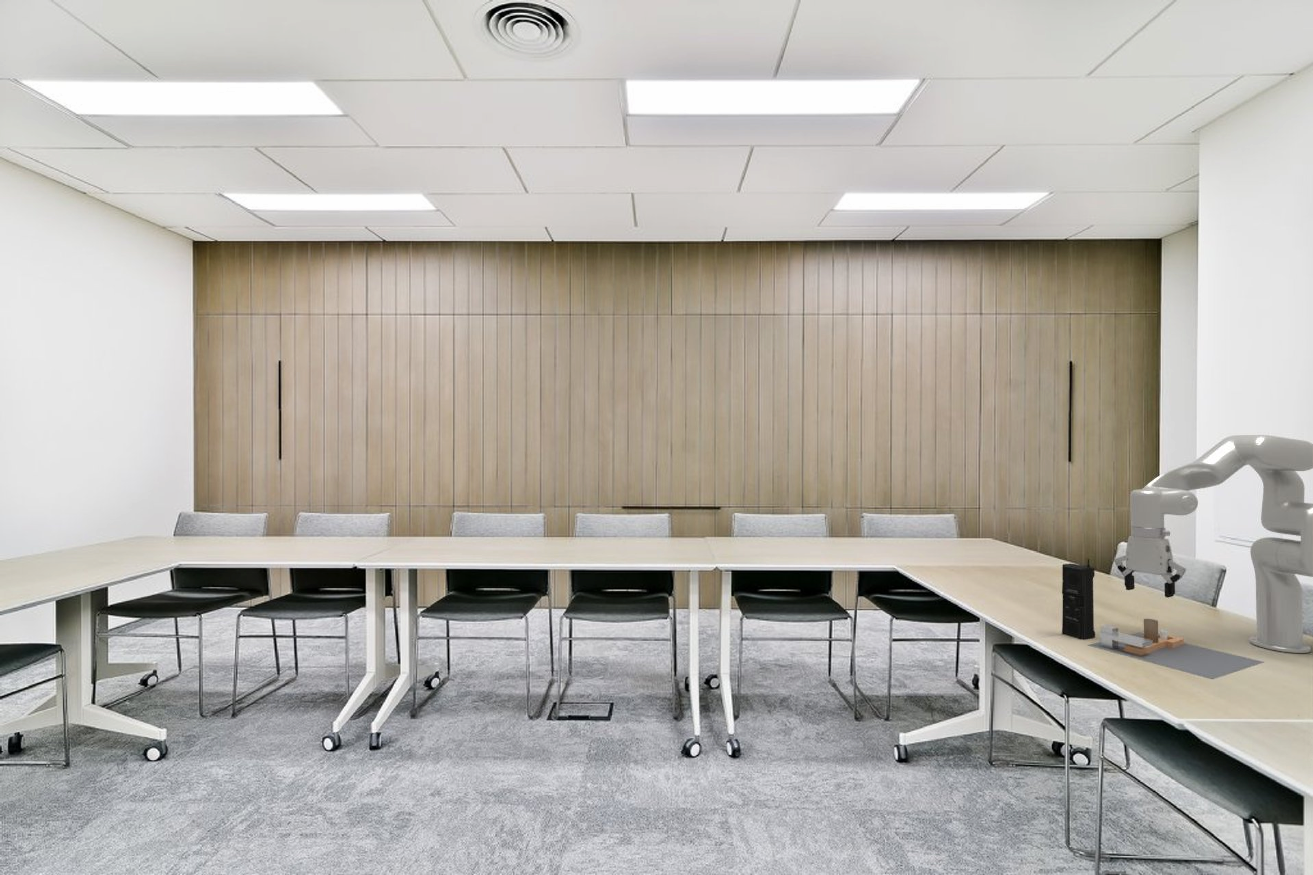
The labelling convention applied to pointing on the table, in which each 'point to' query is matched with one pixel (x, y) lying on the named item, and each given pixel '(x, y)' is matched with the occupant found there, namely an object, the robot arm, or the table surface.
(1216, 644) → the table surface
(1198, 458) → the robot arm
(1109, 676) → the table surface
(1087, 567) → the portable radio
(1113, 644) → the keeper
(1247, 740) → the table surface
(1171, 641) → the link
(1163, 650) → the pintle board
